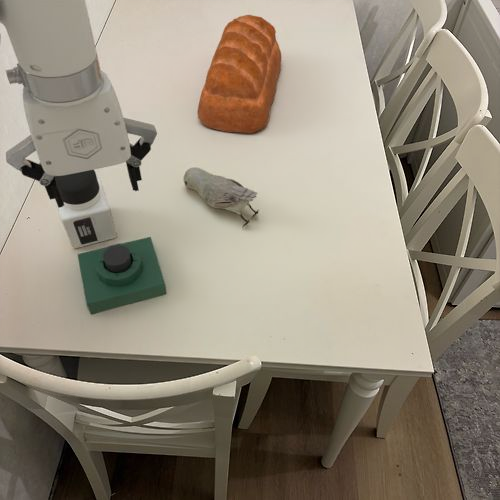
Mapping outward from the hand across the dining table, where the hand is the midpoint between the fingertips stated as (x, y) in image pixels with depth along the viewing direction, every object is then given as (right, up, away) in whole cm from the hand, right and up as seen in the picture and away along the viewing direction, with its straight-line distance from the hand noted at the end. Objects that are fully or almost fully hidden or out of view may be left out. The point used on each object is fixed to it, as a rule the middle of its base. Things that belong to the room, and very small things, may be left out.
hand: (97, 191), depth 63 cm
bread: (+18, +29, +50) cm, 60 cm away
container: (-8, -4, +23) cm, 24 cm away
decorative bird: (+14, +1, +27) cm, 31 cm away
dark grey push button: (-1, -10, +12) cm, 16 cm away
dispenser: (-1, -12, +16) cm, 20 cm away
